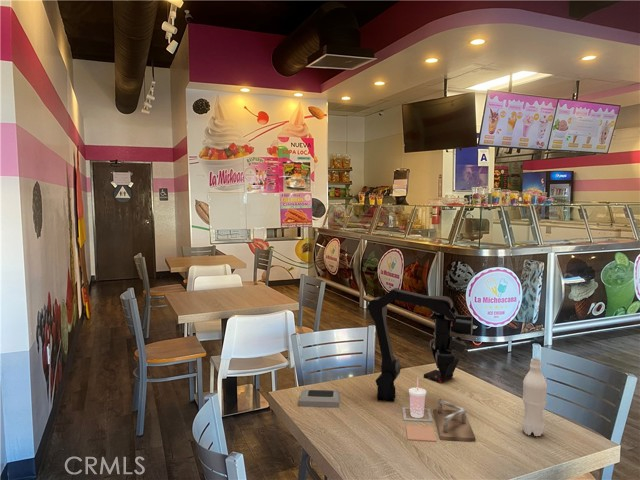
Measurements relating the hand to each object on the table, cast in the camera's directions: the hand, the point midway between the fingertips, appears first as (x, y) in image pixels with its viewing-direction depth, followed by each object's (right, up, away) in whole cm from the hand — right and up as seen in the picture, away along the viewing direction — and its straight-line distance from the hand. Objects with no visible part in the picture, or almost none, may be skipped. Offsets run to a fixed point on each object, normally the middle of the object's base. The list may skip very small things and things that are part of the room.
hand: (440, 372), depth 176 cm
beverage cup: (-10, -14, -5) cm, 18 cm away
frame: (-10, -14, -5) cm, 18 cm away
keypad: (-45, -14, +7) cm, 47 cm away
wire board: (+1, -15, -13) cm, 20 cm away
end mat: (-11, -15, -18) cm, 26 cm away
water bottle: (+26, -15, -18) cm, 35 cm away
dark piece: (+8, -11, +29) cm, 32 cm away
